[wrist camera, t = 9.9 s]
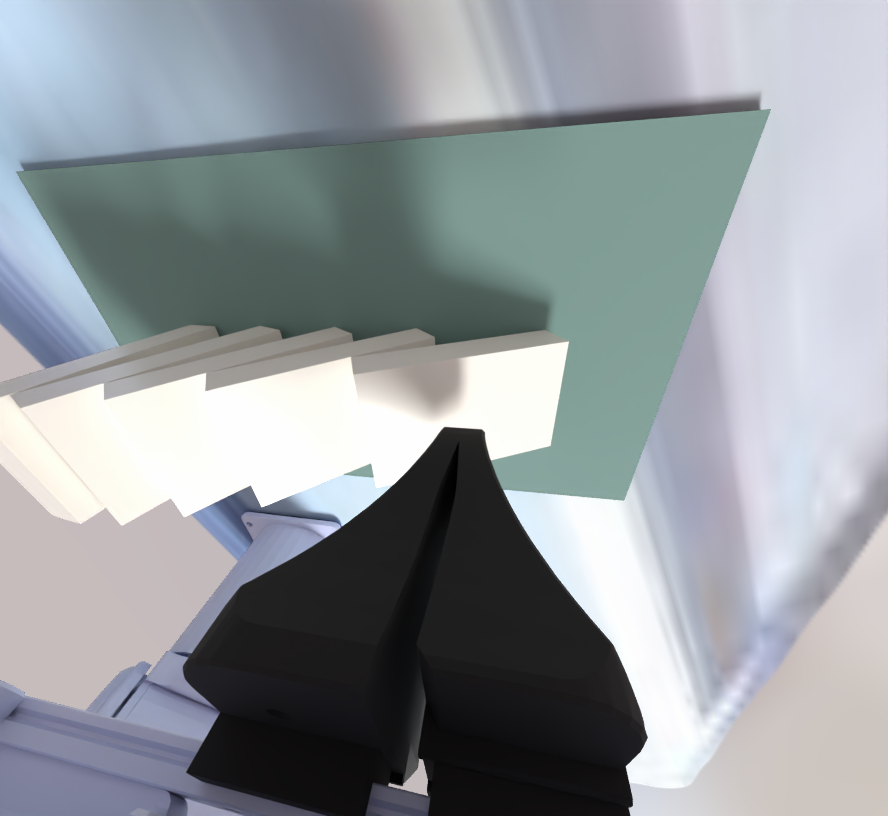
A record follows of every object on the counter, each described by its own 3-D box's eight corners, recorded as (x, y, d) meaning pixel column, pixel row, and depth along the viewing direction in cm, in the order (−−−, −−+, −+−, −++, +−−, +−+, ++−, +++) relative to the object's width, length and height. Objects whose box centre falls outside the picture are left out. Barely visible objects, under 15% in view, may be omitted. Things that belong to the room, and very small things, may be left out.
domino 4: (550, 446, 14) (376, 488, 13) (532, 427, 16) (372, 463, 14) (568, 341, 12) (353, 374, 10) (545, 329, 13) (350, 357, 11)
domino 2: (369, 428, 16) (184, 517, 12) (354, 416, 17) (178, 494, 13) (351, 333, 14) (103, 400, 9) (334, 326, 15) (103, 383, 10)
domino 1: (307, 420, 17) (121, 525, 11) (289, 412, 18) (106, 508, 12) (279, 330, 14) (20, 408, 9) (260, 325, 15) (9, 395, 9)
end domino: (250, 411, 18) (80, 524, 11) (228, 408, 18) (52, 515, 12) (214, 326, 15) (-32, 407, 9) (190, 324, 16) (-63, 401, 9)
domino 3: (440, 435, 15) (261, 507, 12) (424, 420, 17) (257, 482, 13) (435, 337, 13) (205, 391, 9) (416, 328, 14) (206, 373, 10)
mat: (621, 494, 18) (624, 500, 17) (193, 456, 22) (188, 460, 22) (761, 112, 9) (771, 109, 9) (28, 172, 14) (15, 171, 13)
